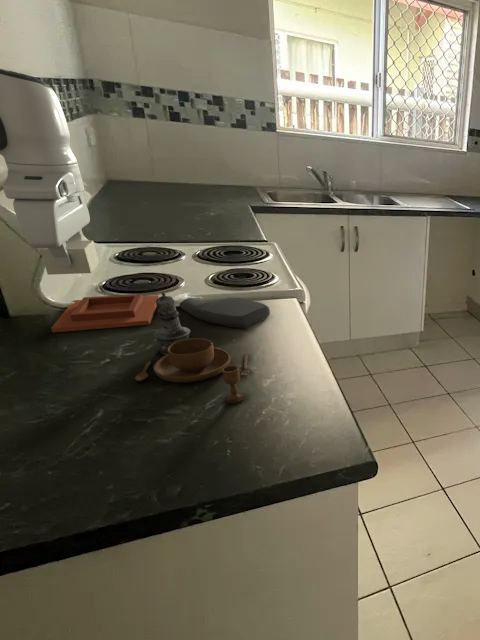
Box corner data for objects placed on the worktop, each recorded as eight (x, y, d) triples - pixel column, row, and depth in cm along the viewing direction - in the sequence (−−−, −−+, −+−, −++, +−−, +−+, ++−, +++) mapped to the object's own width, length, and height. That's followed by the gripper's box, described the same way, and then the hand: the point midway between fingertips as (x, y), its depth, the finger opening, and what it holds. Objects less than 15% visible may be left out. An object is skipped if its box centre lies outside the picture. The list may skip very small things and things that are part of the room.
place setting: (250, 350, 96) (246, 323, 94) (248, 401, 80) (243, 371, 78) (145, 360, 89) (137, 331, 86) (119, 419, 73) (109, 386, 70)
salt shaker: (162, 343, 95) (148, 287, 90) (196, 341, 97) (184, 286, 92) (153, 356, 90) (139, 298, 85) (189, 354, 92) (177, 296, 87)
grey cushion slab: (239, 331, 103) (152, 311, 109) (275, 315, 113) (193, 297, 118) (237, 319, 102) (149, 299, 108) (273, 303, 111) (191, 286, 117)
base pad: (52, 332, 95) (48, 321, 94) (74, 304, 108) (71, 294, 107) (149, 324, 102) (146, 313, 101) (159, 299, 115) (157, 289, 114)
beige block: (47, 274, 83) (39, 249, 81) (58, 264, 87) (51, 240, 86) (91, 273, 85) (84, 248, 83) (99, 263, 90) (93, 240, 88)
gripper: (44, 171, 87) (66, 245, 93) (-3, 189, 70) (27, 277, 76) (88, 172, 89) (107, 244, 95) (52, 190, 73) (78, 275, 79)
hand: (71, 259), depth 86 cm, fingers closed on beige block, 6 cm apart
